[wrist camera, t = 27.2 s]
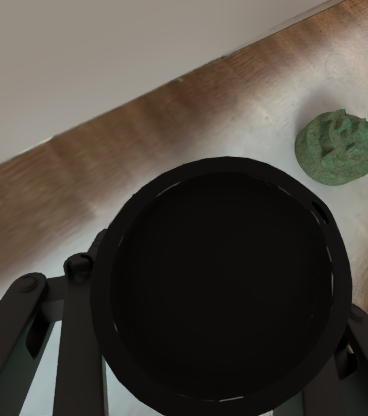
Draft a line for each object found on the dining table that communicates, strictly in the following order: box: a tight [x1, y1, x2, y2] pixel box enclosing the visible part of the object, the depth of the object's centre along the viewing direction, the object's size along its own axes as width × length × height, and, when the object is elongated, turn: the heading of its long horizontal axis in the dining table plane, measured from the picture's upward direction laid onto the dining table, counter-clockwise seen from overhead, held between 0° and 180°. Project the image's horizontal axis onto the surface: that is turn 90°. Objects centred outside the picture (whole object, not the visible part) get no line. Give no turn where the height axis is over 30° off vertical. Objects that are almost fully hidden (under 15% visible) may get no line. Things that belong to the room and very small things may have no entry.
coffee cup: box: [90, 156, 352, 416], centre depth 13 cm, size 8×8×15 cm
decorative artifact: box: [295, 109, 368, 185], centre depth 26 cm, size 10×7×10 cm
